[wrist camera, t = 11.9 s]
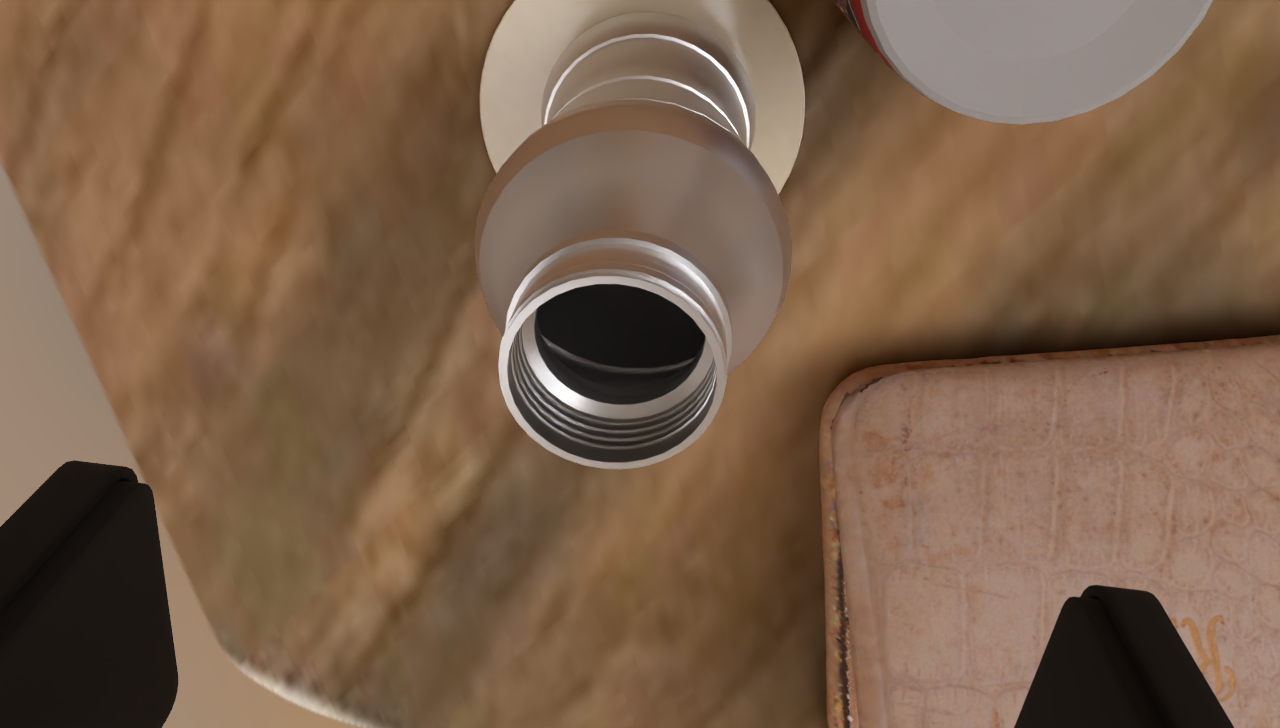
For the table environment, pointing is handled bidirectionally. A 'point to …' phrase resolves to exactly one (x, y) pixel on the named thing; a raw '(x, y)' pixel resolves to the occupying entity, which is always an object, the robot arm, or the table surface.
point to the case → (1047, 522)
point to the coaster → (572, 3)
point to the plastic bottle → (632, 244)
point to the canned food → (1024, 50)
